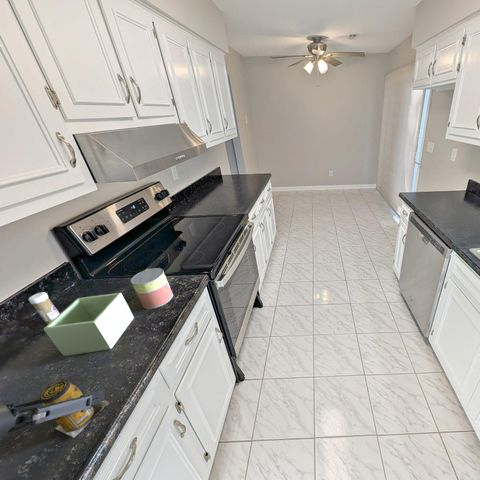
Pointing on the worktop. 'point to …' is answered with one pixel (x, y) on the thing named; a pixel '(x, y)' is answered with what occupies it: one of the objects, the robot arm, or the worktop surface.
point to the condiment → (73, 421)
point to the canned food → (152, 288)
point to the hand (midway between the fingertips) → (74, 399)
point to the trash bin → (90, 324)
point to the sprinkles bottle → (44, 307)
